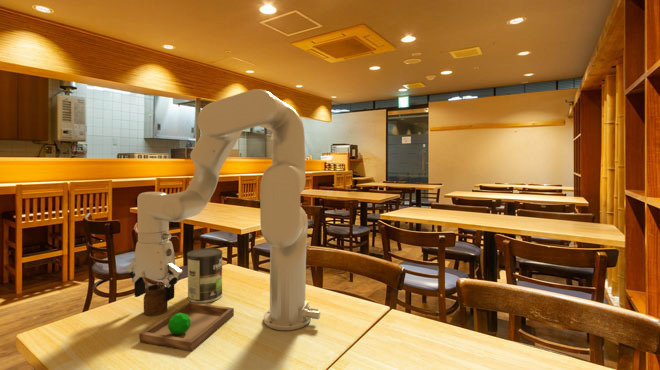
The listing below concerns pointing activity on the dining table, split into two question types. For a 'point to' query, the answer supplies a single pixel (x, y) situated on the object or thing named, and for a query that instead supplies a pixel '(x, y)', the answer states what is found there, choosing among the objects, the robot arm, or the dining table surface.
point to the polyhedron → (179, 323)
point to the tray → (200, 329)
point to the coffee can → (204, 275)
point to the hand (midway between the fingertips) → (154, 297)
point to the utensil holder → (154, 299)
